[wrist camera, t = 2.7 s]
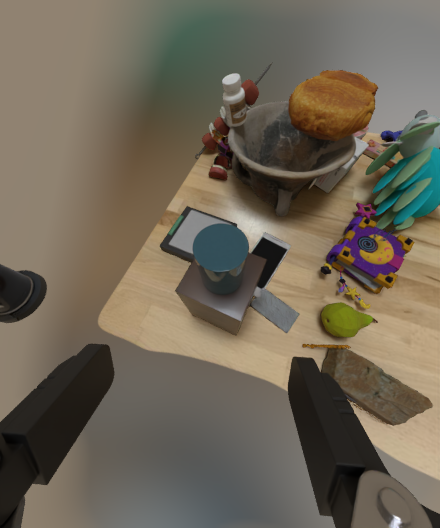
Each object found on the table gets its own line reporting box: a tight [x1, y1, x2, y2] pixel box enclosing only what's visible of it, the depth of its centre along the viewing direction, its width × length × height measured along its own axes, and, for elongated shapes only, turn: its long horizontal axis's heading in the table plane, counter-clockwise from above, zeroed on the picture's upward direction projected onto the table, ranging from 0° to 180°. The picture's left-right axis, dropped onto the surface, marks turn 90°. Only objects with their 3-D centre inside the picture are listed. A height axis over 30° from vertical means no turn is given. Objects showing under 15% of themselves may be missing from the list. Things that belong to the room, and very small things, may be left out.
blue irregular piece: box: [381, 130, 403, 142], centre depth 63 cm, size 9×5×3 cm, turn 18°
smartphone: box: [250, 232, 291, 298], centre depth 47 cm, size 7×15×1 cm, turn 146°
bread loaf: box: [288, 70, 378, 141], centre depth 40 cm, size 14×16×8 cm
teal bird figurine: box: [366, 110, 440, 230], centre depth 45 cm, size 14×26×18 cm
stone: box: [322, 345, 432, 426], centre depth 33 cm, size 14×7×5 cm, turn 56°
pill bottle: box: [222, 74, 247, 127], centre depth 42 cm, size 4×4×8 cm
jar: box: [192, 223, 249, 295], centre depth 26 cm, size 6×6×8 cm
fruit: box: [321, 303, 378, 337], centre depth 39 cm, size 6×6×12 cm
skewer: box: [195, 63, 272, 160], centre depth 57 cm, size 5×5×30 cm
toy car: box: [211, 129, 234, 160], centre depth 57 cm, size 6×12×5 cm
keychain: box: [303, 344, 351, 349], centre depth 36 cm, size 8×1×1 cm
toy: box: [363, 140, 404, 168], centre depth 60 cm, size 12×2×5 cm
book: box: [321, 203, 414, 309], centre depth 41 cm, size 14×25×12 cm, turn 140°
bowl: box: [228, 101, 356, 216], centre depth 50 cm, size 27×26×15 cm
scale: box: [160, 206, 237, 262], centre depth 49 cm, size 14×13×3 cm
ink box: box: [308, 137, 369, 193], centre depth 53 cm, size 9×5×15 cm
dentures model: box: [209, 153, 232, 180], centre depth 59 cm, size 6×4×8 cm
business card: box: [250, 288, 299, 333], centre depth 42 cm, size 9×5×1 cm, turn 52°
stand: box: [175, 253, 267, 336], centre depth 36 cm, size 10×10×15 cm
